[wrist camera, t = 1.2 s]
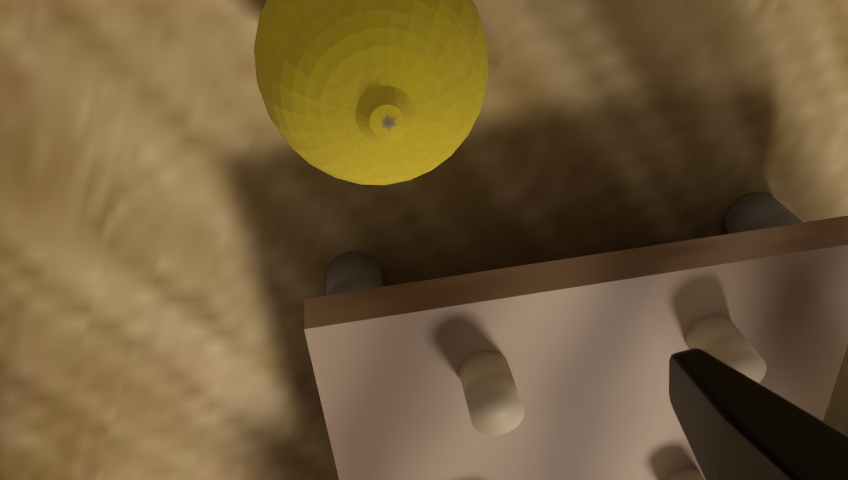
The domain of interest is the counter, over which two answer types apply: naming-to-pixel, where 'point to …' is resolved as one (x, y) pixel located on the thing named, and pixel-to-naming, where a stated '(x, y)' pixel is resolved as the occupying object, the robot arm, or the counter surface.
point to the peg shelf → (572, 352)
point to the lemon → (372, 82)
